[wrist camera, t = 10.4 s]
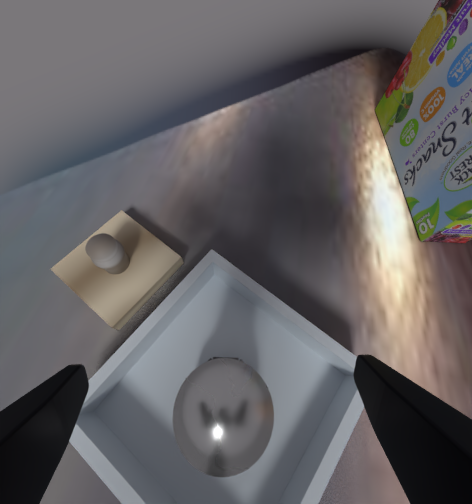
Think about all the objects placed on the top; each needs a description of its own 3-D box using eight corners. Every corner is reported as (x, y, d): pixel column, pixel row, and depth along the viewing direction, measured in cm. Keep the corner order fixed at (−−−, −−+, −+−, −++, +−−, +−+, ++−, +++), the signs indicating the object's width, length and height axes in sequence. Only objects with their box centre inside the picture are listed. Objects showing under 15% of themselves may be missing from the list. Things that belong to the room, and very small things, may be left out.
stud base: (183, 263, 25) (174, 239, 20) (118, 330, 22) (91, 319, 17) (126, 218, 26) (107, 187, 22) (60, 275, 24) (22, 252, 19)
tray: (352, 373, 21) (379, 373, 17) (242, 587, 16) (247, 652, 12) (213, 267, 24) (211, 248, 21) (84, 411, 19) (51, 420, 16)
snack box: (469, 244, 27) (721, 113, 13) (417, 243, 27) (619, 109, 13) (410, 110, 36) (523, -49, 22) (371, 109, 36) (461, -53, 22)
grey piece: (269, 394, 19) (308, 414, 10) (222, 449, 18) (219, 530, 9) (226, 345, 21) (227, 324, 12) (179, 392, 19) (137, 410, 10)
